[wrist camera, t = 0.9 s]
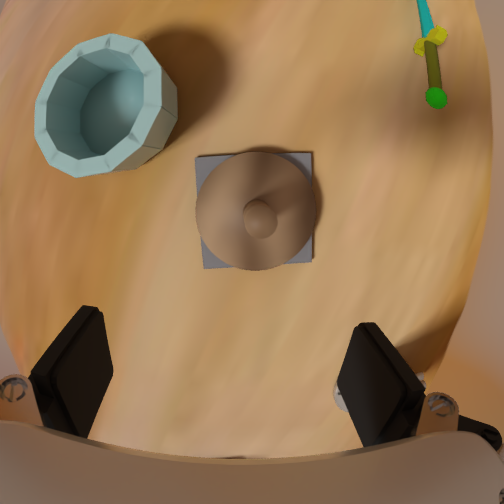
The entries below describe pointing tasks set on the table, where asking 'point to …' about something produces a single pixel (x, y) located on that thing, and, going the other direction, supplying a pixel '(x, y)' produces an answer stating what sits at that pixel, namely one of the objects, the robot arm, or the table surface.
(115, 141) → the bowl
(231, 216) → the lid
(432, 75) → the toy sword
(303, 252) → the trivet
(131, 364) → the table surface
